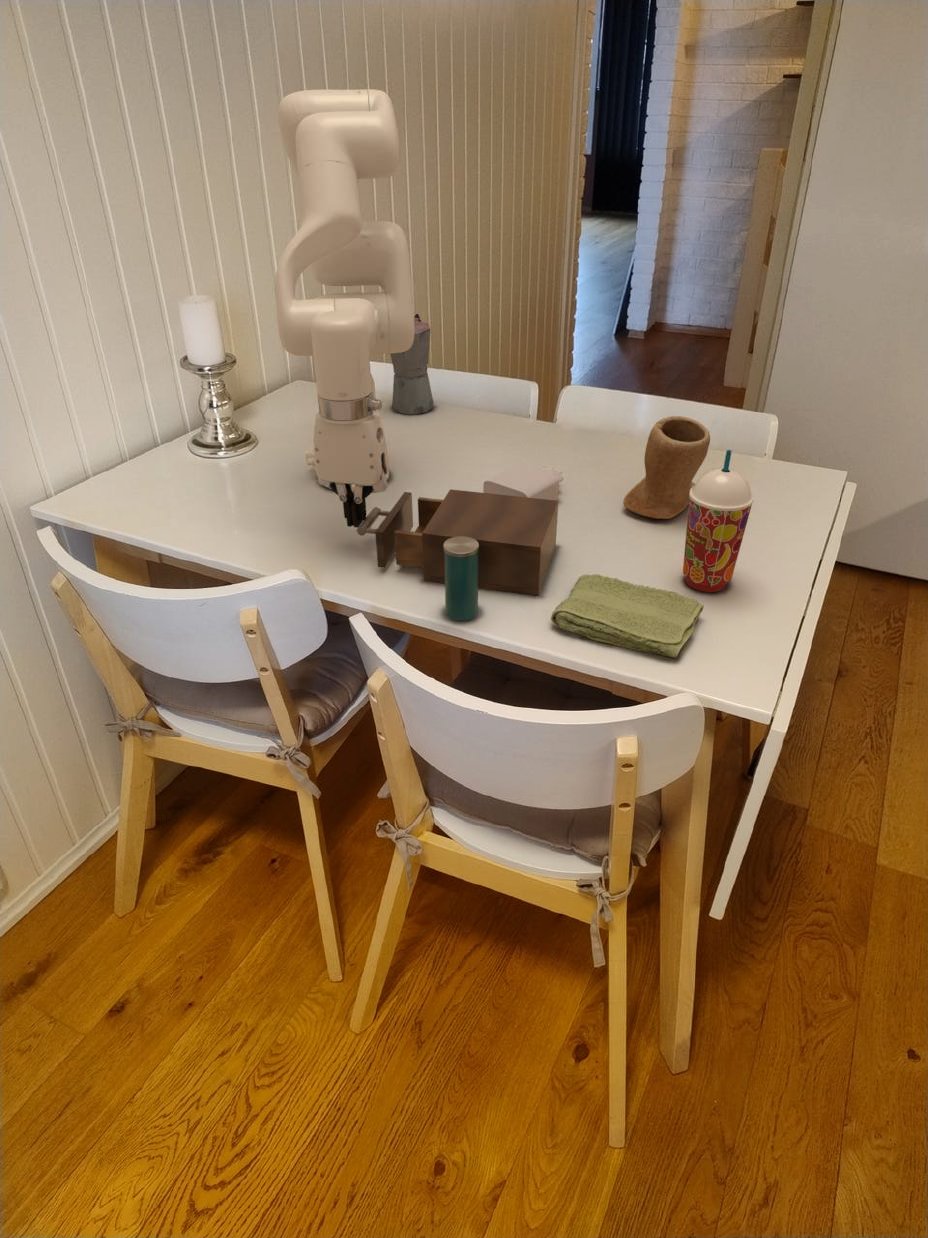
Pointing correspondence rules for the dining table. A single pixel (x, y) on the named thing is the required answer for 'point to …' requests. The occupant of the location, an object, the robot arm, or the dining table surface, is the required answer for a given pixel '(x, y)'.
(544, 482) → the open book
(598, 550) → the dining table surface
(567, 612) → the washcloth
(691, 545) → the smoothie
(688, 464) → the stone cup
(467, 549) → the tin
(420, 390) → the moka pot
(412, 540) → the drawer
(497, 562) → the cabinet
